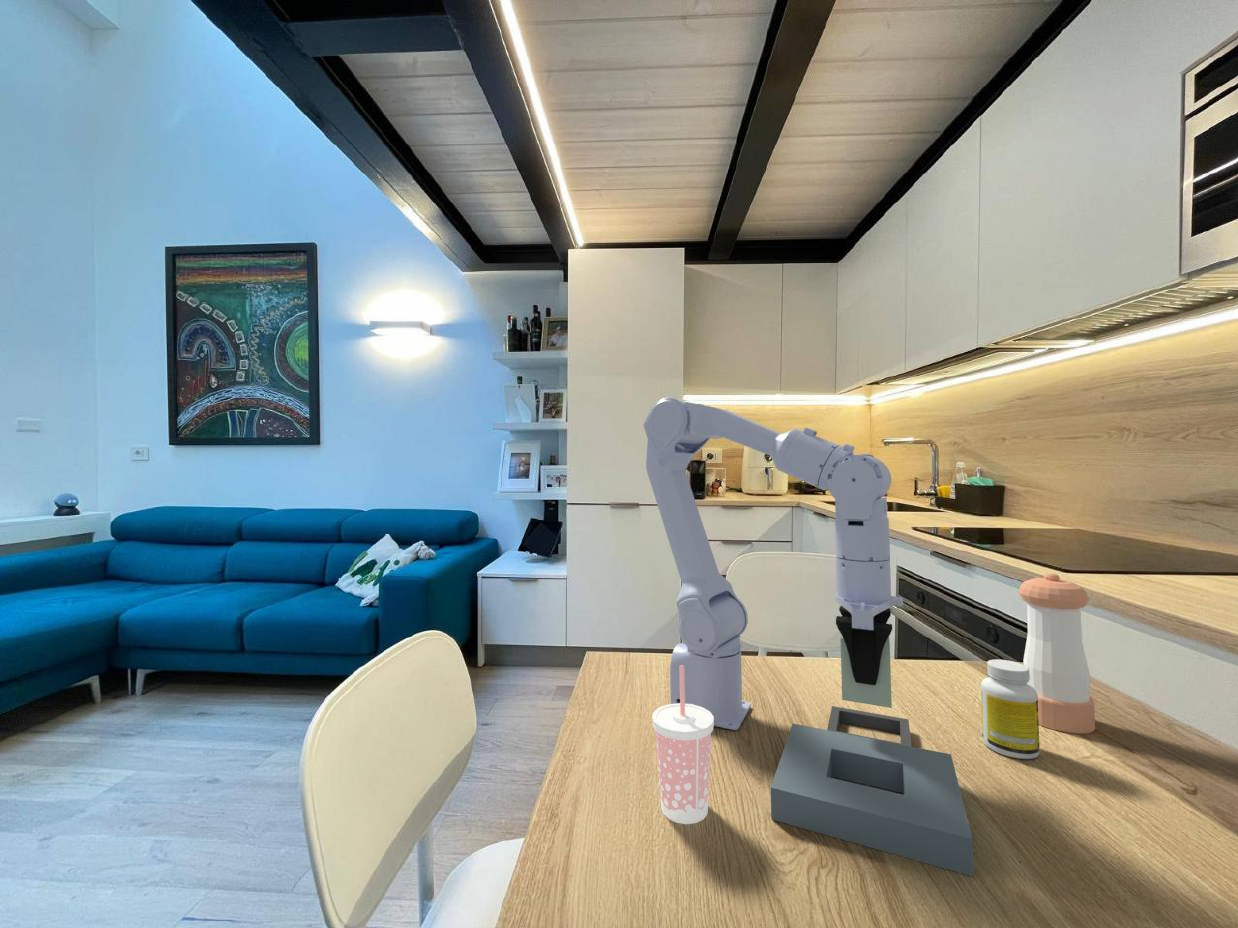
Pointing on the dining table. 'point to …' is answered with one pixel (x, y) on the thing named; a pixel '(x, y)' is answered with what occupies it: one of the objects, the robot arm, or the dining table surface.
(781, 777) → the port block
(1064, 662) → the pepper shaker
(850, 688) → the plug
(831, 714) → the grey rectangular frame
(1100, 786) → the dining table surface
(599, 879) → the dining table surface
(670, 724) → the beverage cup
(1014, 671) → the supplement bottle
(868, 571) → the robot arm
